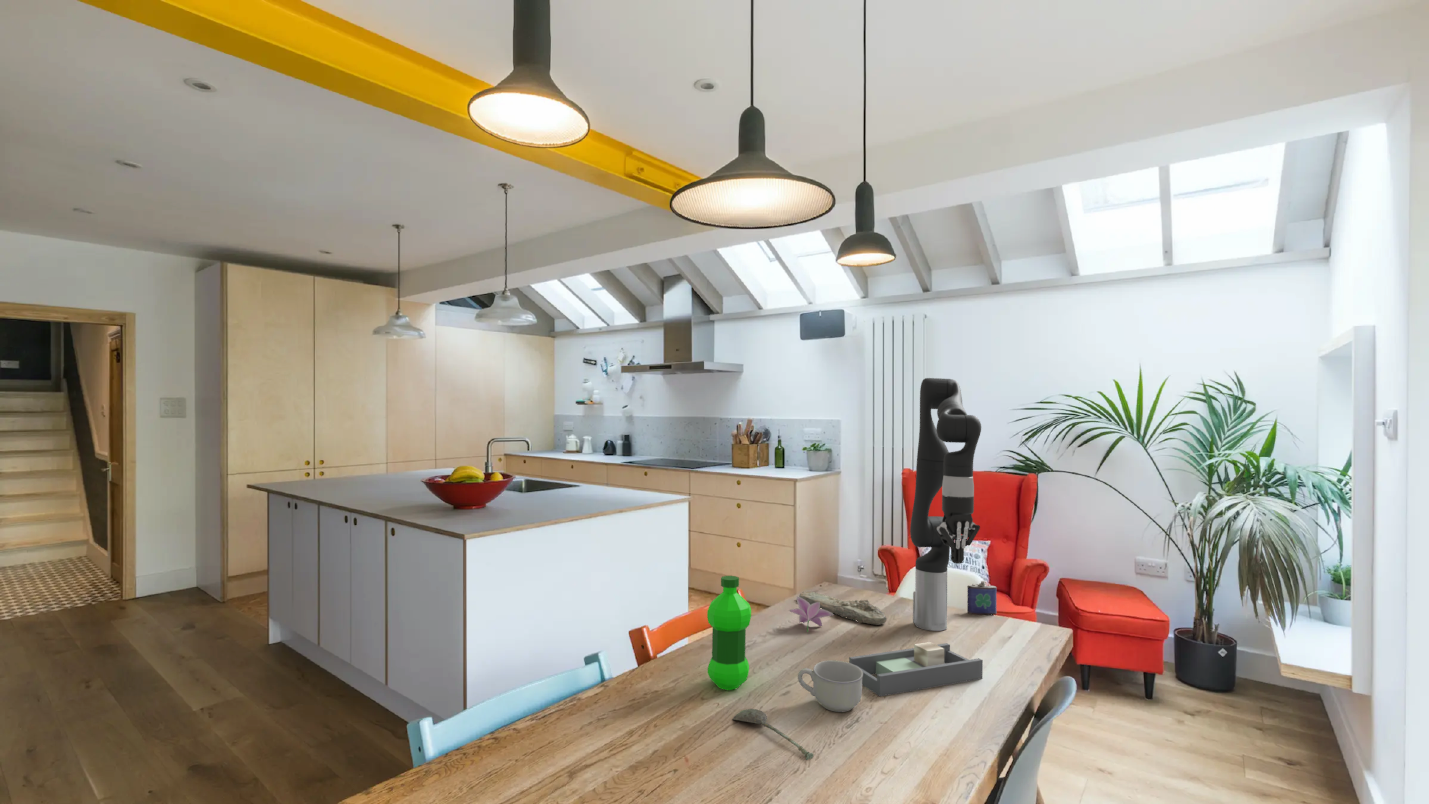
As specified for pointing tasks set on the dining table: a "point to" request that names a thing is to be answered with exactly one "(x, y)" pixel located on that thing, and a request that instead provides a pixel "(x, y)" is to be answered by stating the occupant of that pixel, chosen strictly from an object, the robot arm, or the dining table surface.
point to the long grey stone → (847, 608)
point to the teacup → (834, 684)
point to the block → (928, 654)
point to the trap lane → (913, 671)
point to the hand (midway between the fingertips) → (957, 562)
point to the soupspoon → (761, 718)
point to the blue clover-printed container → (981, 599)
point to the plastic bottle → (729, 636)
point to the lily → (810, 612)
